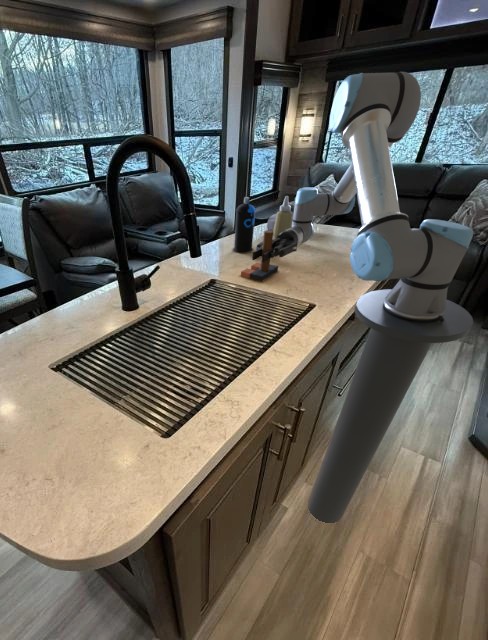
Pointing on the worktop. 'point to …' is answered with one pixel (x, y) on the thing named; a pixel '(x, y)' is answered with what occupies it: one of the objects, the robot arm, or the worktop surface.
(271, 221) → the grey oval stone
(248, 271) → the red square block
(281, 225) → the squeeze bottle
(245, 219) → the aerosol can
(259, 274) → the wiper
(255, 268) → the pink square block
